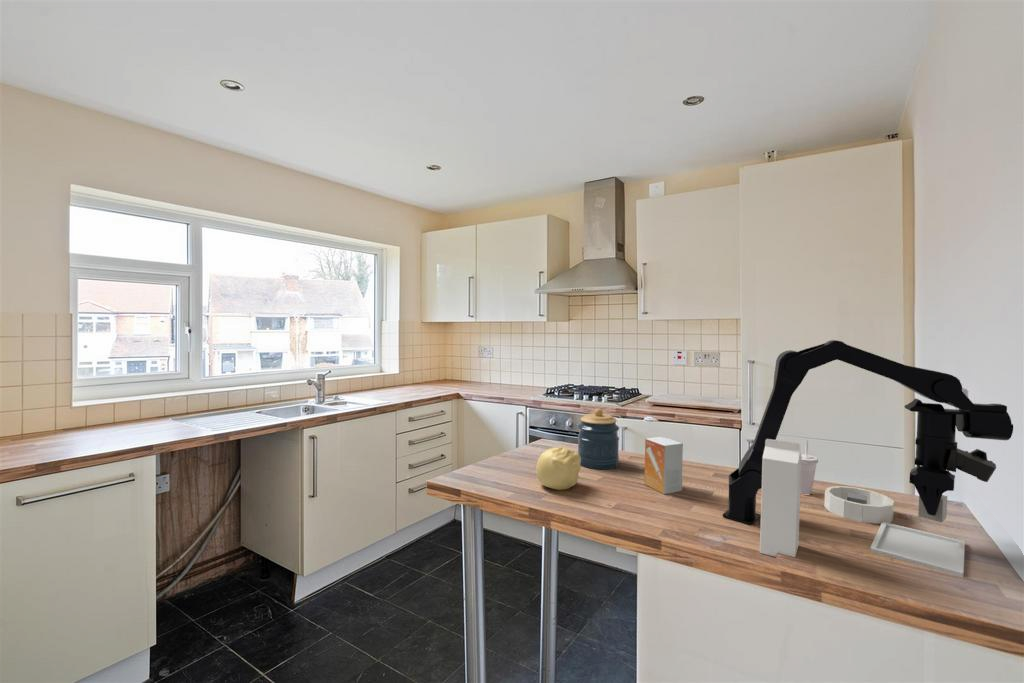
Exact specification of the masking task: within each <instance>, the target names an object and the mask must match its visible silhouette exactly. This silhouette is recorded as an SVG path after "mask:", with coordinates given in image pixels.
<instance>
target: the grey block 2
mask: <svg viewBox="0 0 1024 683" xmlns="http://www.w3.org/2000/svg"><path fill="white" fill-rule="evenodd" d="M947 512H948V495H943V494H942V497H941V500H940V503H939V506H938V509H937V512H936V515H935V516H933V515H929V514H928V513H927V511H926V509H925V507H924V504H923V502H922V500H921V498H920V496H919V495H918V512H917V513H918V514H917V515H918V518H919V517H920V518H923V519H926V520H931V521H934V522H939V523H943V522H945V520H947V516H948V515H947V514H948V513H947Z"/></svg>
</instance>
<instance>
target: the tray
mask: <svg viewBox="0 0 1024 683" xmlns="http://www.w3.org/2000/svg"><path fill="white" fill-rule="evenodd" d="M965 542H966V541H964V540H961V539H956V538H952V537H949V536H945V535H940V534H937V533H932V532H927V531H923V530H920V529H919V530H918V529H915V528H911V527H906V526H902V525H898V524H895V523H892V522H891V523H886V522H882V523H881V524H880V526H879V529H878V531H877V533H876V534H875V537H874V539H873V541H872V543H871V545H870V548H869V549H870V550H869V551H870V552H871V553H875V554H878V555H882V556H886V557H890V558H893V559H897V560H900V561H904V562H907V563H911V564H915V565H918V566H922V567H926V568H929V569H933V570H937V571H940V572H943V573H947V574H950V575H951V574H952V575H955V576H958V577H962V578H964V570H965V568H964V566H965V546H966V545H965V544H966V543H965Z"/></svg>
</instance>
